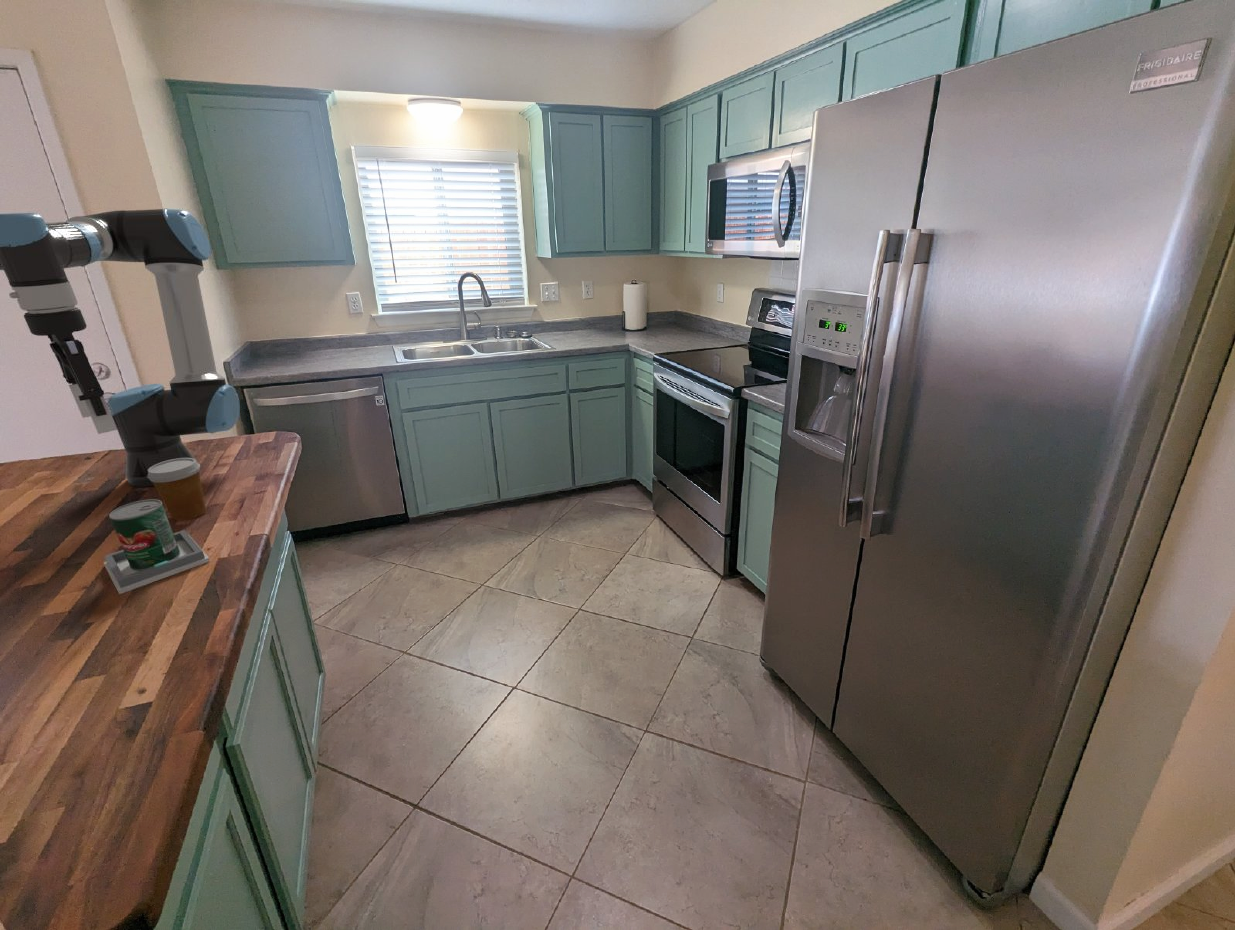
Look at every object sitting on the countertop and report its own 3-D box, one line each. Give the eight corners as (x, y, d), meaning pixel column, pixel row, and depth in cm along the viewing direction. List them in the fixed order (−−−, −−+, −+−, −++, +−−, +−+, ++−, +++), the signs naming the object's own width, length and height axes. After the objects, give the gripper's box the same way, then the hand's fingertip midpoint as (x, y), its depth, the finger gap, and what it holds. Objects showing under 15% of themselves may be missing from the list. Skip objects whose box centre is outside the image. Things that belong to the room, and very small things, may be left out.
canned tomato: (126, 575, 107) (103, 522, 103) (134, 556, 114) (113, 505, 109) (178, 563, 111) (158, 511, 106) (183, 544, 117) (164, 495, 113)
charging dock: (104, 566, 112) (100, 555, 111) (190, 537, 122) (186, 527, 121) (119, 594, 103) (114, 582, 102) (210, 561, 113) (206, 550, 112)
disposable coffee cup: (189, 525, 127) (171, 475, 122) (152, 522, 128) (133, 472, 124) (224, 505, 135) (208, 457, 130) (190, 503, 137) (173, 455, 132)
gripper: (12, 305, 107) (61, 414, 116) (33, 321, 92) (88, 445, 101) (65, 299, 112) (108, 404, 121) (93, 313, 97) (140, 432, 106)
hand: (99, 423), depth 111 cm, fingers open, 13 cm apart
